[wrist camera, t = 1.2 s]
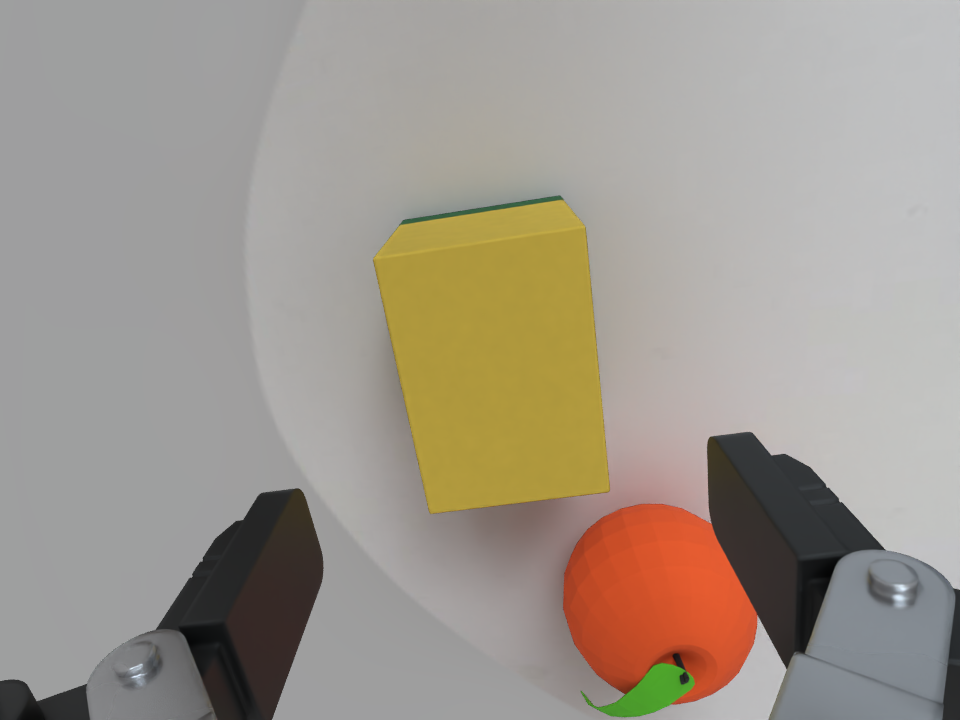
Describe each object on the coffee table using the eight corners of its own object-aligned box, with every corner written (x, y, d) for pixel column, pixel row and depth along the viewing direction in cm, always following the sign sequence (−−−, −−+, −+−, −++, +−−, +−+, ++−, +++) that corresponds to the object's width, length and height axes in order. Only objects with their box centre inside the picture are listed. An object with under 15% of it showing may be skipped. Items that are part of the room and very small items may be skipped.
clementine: (626, 641, 28) (667, 801, 22) (506, 568, 27) (511, 715, 20) (754, 526, 26) (843, 667, 19) (628, 438, 25) (679, 558, 18)
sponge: (402, 219, 22) (372, 257, 16) (560, 195, 21) (586, 225, 16) (443, 423, 24) (428, 515, 19) (583, 404, 24) (610, 493, 19)
